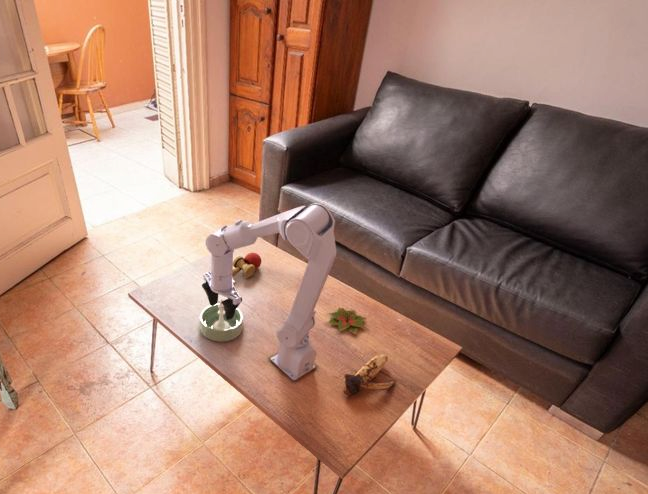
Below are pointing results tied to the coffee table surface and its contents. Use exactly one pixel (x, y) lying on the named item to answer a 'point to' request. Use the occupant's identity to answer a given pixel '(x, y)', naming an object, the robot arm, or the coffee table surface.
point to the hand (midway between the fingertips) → (221, 311)
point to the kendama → (246, 264)
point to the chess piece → (221, 319)
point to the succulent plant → (347, 320)
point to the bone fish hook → (366, 377)
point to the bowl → (211, 316)
